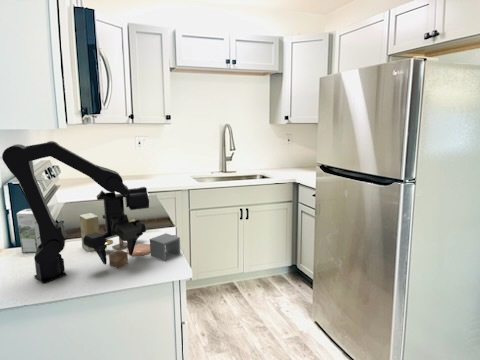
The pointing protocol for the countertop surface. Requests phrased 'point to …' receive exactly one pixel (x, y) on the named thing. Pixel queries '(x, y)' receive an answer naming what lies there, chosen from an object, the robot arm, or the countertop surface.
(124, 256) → the walnut block
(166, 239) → the cover
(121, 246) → the balance
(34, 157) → the robot arm
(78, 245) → the countertop surface
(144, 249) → the dish
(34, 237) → the syrup box
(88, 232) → the skincare box
